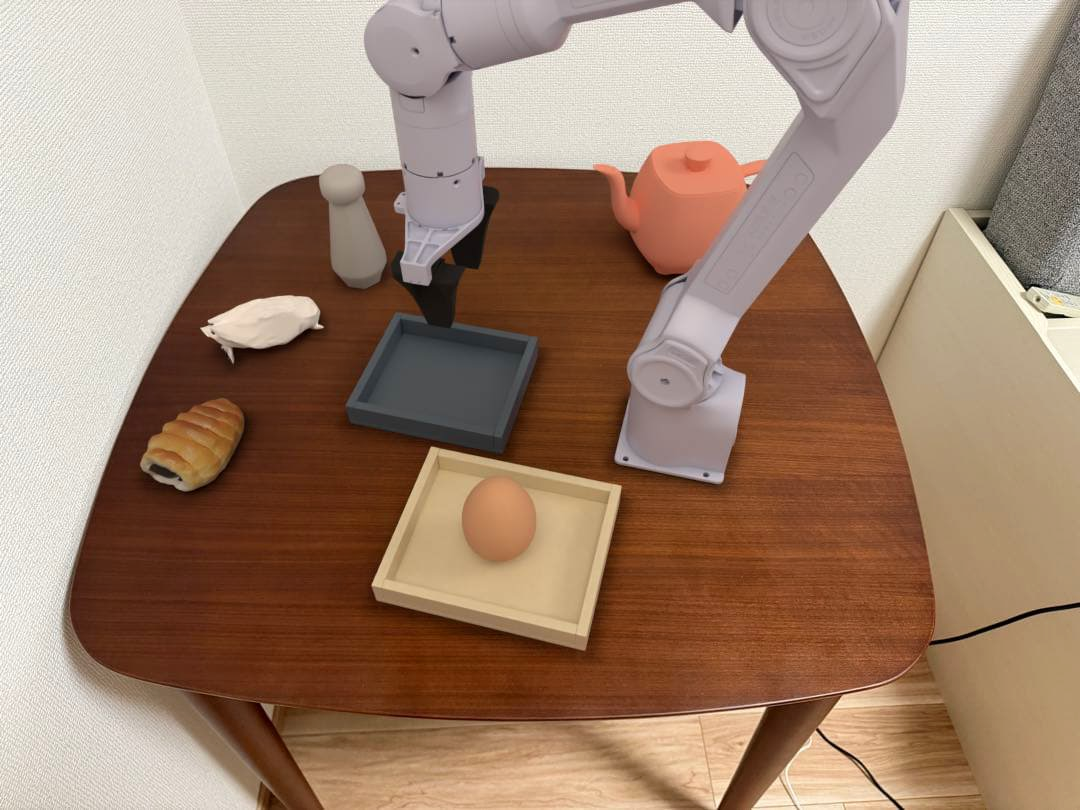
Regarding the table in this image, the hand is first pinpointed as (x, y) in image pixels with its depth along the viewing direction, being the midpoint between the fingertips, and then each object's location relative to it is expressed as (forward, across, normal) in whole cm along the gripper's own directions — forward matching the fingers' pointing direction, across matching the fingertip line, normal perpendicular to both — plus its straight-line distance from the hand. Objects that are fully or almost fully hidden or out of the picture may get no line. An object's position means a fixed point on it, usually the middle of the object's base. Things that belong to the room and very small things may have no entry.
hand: (454, 293), depth 71 cm
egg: (+10, +18, +9) cm, 22 cm away
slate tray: (+10, +2, -1) cm, 11 cm away
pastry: (+11, +15, -20) cm, 27 cm away
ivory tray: (+10, +18, +9) cm, 22 cm away
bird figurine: (+11, 0, -20) cm, 23 cm away
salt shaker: (+11, -11, -15) cm, 21 cm away
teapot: (+11, -24, +17) cm, 31 cm away
